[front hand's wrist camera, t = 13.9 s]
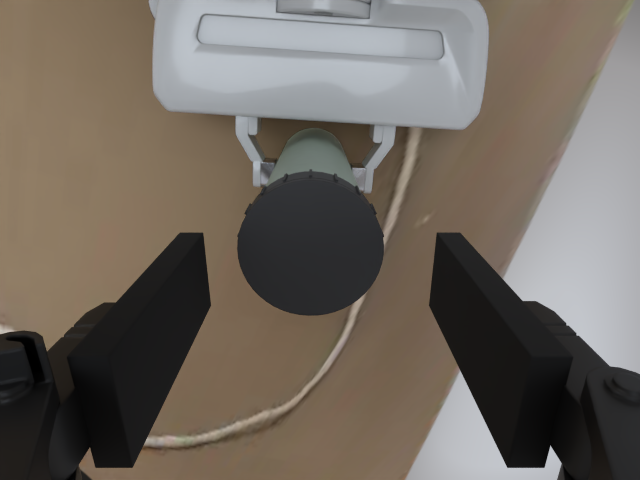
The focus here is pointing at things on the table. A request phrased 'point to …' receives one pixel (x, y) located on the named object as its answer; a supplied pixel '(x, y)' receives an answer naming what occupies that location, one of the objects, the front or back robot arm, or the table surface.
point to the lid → (310, 243)
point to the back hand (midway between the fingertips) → (312, 188)
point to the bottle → (313, 156)
